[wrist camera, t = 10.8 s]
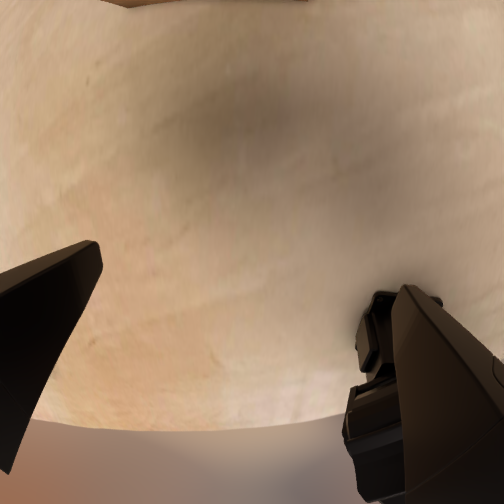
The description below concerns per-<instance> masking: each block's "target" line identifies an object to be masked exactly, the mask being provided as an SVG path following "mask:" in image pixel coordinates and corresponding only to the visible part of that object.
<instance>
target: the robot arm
mask: <svg viewBox="0 0 504 504" xmlns="http://www.w3.org/2000/svg"><path fill="white" fill-rule="evenodd" d="M102 270H103V262H102V257H101V252H100V247H99V244H98V243H97V242H96V241H90V240H85V241H82V242H79V243H76V244H74V245H71V246H68V247H66V248H63V249H60V250H58V251H55V252H53V253H50V254H47V255H45V256H42V257H40V258H37V259H35V260H32V261H30V262H27V263H25V264H22V265H20V266H17V267H15V268H12V269H10V270H8V271H5V272H3V273H1V274H0V469H1V470H2V471H3V472H5V473H6V474H8V475H9V473H10V471H11V469H12V466H13V463H14V460H15V457H16V454H17V452H18V449H19V446H20V444H21V441H22V438H23V436H24V433H25V431H26V428H27V426H28V423H29V421H30V418H31V416H32V414H33V411H34V409H35V407H36V404H37V402H38V400H39V398H40V395H41V393H42V391H43V389H44V387H45V385H46V383H47V380H48V378H49V376H50V374H51V372H52V370H53V368H54V366H55V364H56V362H57V360H58V358H59V356H60V354H61V352H62V350H63V348H64V346H65V344H66V343H67V341H68V339H69V337H70V335H71V333H72V331H73V330H74V328H75V326H76V324H77V322H78V320H79V319H80V317H81V315H82V313H83V311H84V309H85V307H86V305H87V303H88V301H89V299H90V296H91V294H92V292H93V290H94V288H95V286H96V283H97V281H98V279H99V277H100V275H101V273H102ZM379 297H382V298H381V299H378V298H379ZM442 307H443V302H442V300H441V299H439V298H431V297H429V296H428V295H426V294H425V293H424V292H423V291H422V290H420V289H419V288H418V287H417V286H415V285H407V284H404V285H402V286H401V288H400V290H399V292H398V294H396V293H387V292H377V293H375V294H374V296H373V299H372V302H371V304H370V307H369V310H368V312H367V313H366V314H365V315H364V316H363V318H362V321H361V324H360V326H359V329H358V331H357V334H356V343H355V349H356V350H357V351H358V359H359V368H360V371H361V372H362V373H366V377H367V383H365V384H362V385H360V386H358V385H357V386H354V387H352V388H351V389H350V394H349V399H348V404H347V409H346V413H345V418H344V423H343V429H342V435H343V438H344V444H345V446H346V448H347V451H348V453H349V455H350V456H351V457H352V459H353V463H354V466H355V473H356V481H357V489H358V492H359V494H360V495H361V496H362V498H363V499H364V500H365V501H366V502H367V503H371V502H376V501H379V502H380V503H381V504H504V364H503V363H502V362H501V361H500V360H499V359H498V358H497V357H496V356H493V354H492V353H491V352H490V351H489V350H488V349H487V348H486V347H485V346H484V345H483V344H482V343H481V342H480V341H479V340H477V339H476V338H475V337H474V336H473V335H472V334H471V333H470V332H469V331H468V330H466V329H465V328H464V327H463V326H462V325H461V324H460V323H459V322H458V321H456V320H455V319H454V318H453V317H452V316H451V315H450V314H448V313H447V312H446V311H445V310H444V309H443V308H442Z"/></svg>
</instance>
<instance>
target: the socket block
mask: <svg viewBox="0 0 504 504" xmlns="http://www.w3.org/2000/svg"><path fill="white" fill-rule="evenodd" d="M101 1H105V2H109V3H112V4H116V5H119V6H123V7H126V8H131V7H137V6H143V5H149V4H155V3H163V2H171V1H180V0H101ZM299 1H308V0H299Z"/></svg>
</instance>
